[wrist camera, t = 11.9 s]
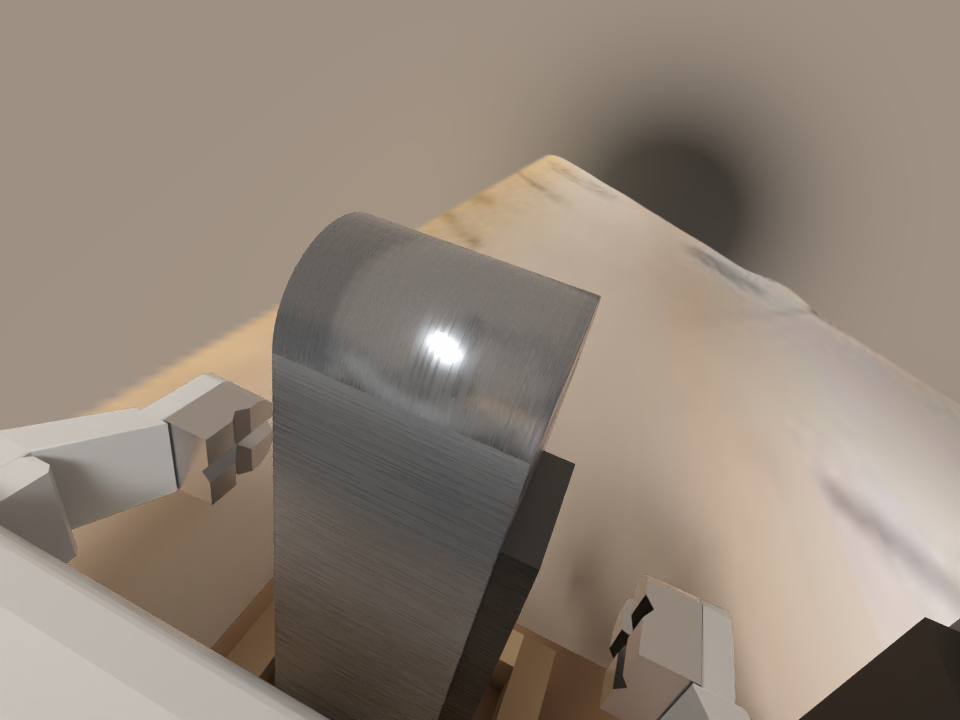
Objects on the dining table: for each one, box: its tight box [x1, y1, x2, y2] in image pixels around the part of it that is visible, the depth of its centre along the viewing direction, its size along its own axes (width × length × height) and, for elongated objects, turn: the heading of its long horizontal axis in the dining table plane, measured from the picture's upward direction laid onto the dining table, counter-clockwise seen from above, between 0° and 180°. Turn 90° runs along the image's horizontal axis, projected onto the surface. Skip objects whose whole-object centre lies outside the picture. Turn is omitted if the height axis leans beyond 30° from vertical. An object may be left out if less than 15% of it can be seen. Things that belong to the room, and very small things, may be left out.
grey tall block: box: [272, 212, 601, 720], centre depth 10 cm, size 4×3×14 cm
